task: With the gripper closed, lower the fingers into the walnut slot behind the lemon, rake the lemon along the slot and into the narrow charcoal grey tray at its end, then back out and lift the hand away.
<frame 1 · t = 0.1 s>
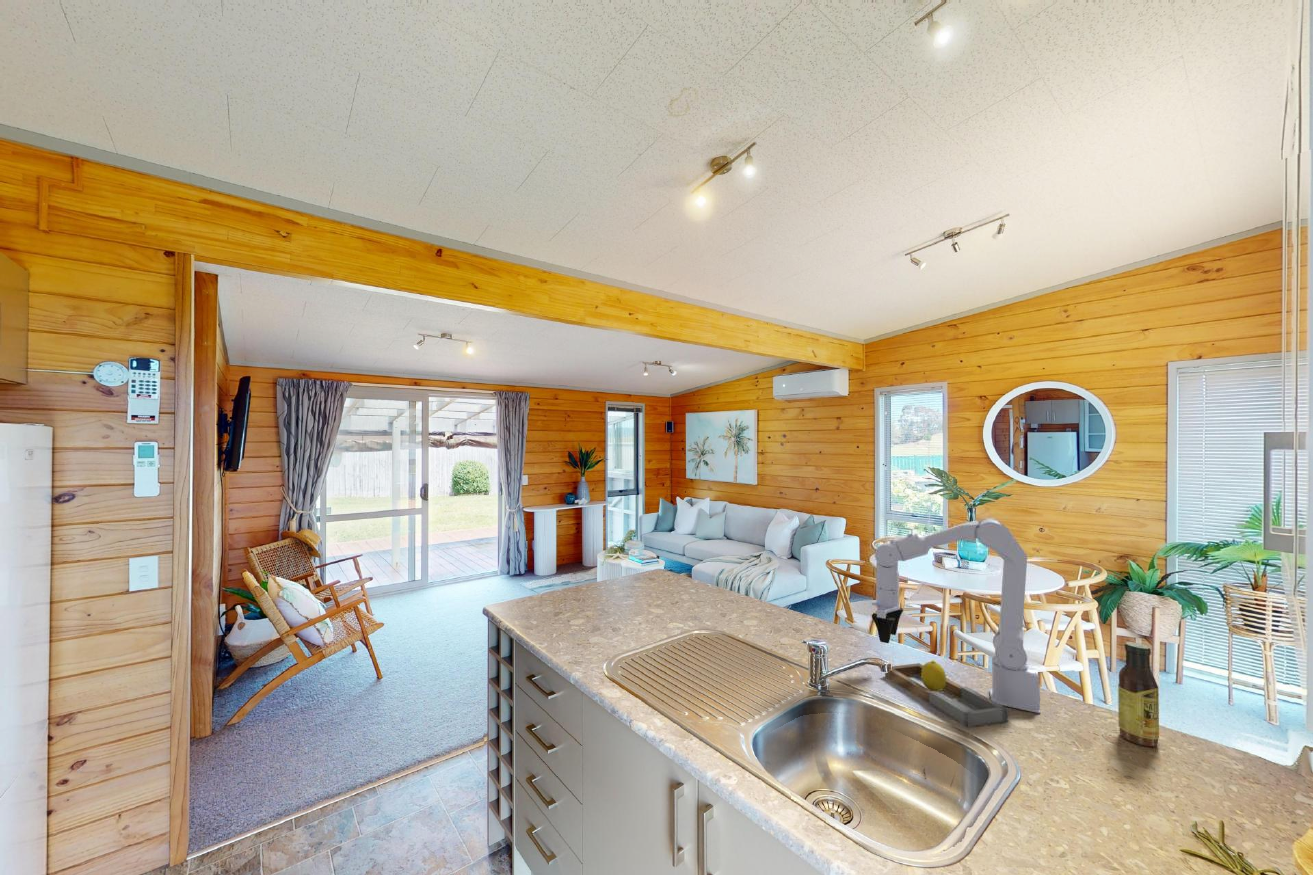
hand: (888, 638, 138), 10 cm above the countertop, tool pointing down, fingers open, 7 cm apart
sauce bottle: (1138, 740, 107), on the countertop
slot rails: (926, 688, 130), on the countertop
tray: (967, 712, 118), on the countertop
lemon: (933, 693, 127), on the countertop
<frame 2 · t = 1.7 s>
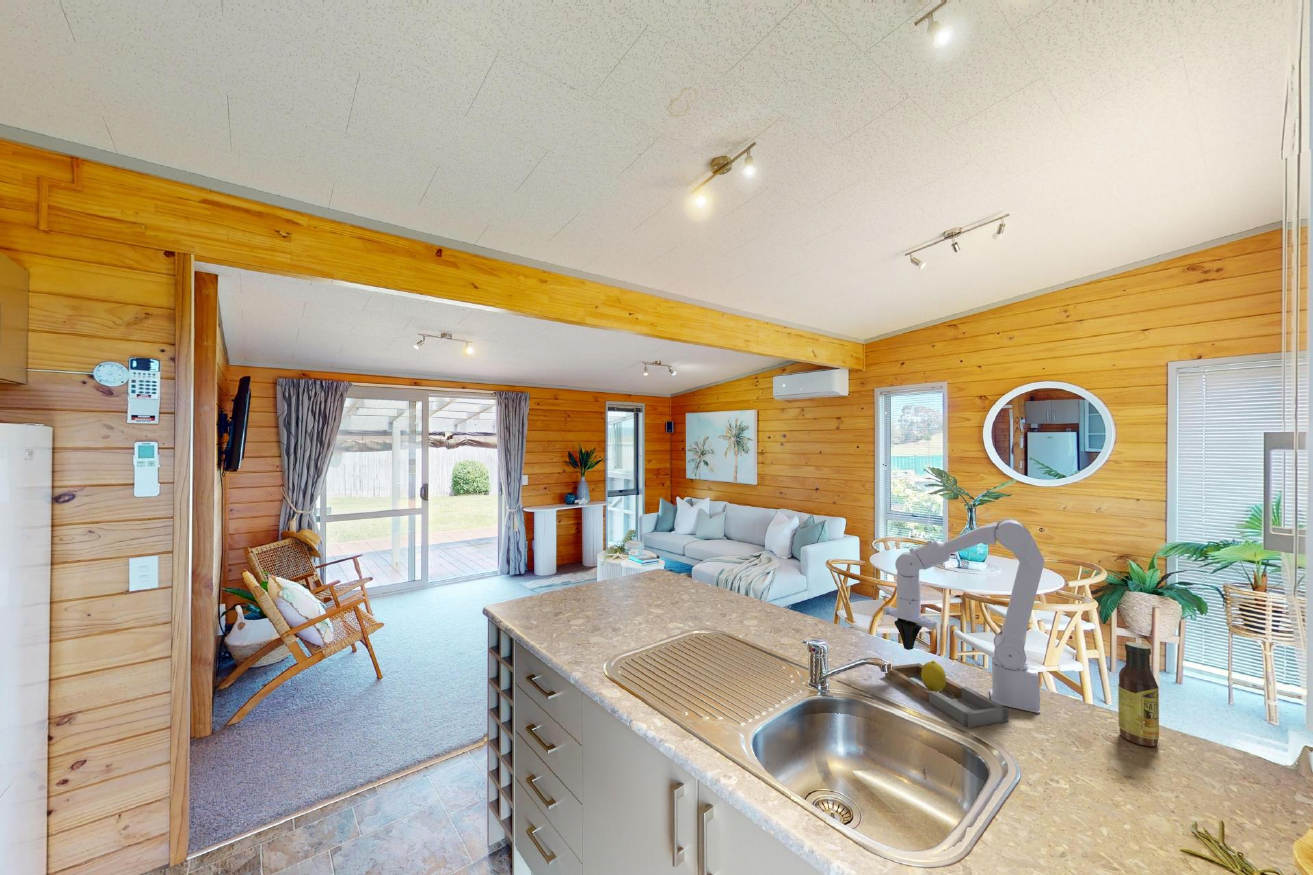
hand: (908, 648, 136), 8 cm above the countertop, tool pointing down, fingers closed
nothing on the countertop moved.
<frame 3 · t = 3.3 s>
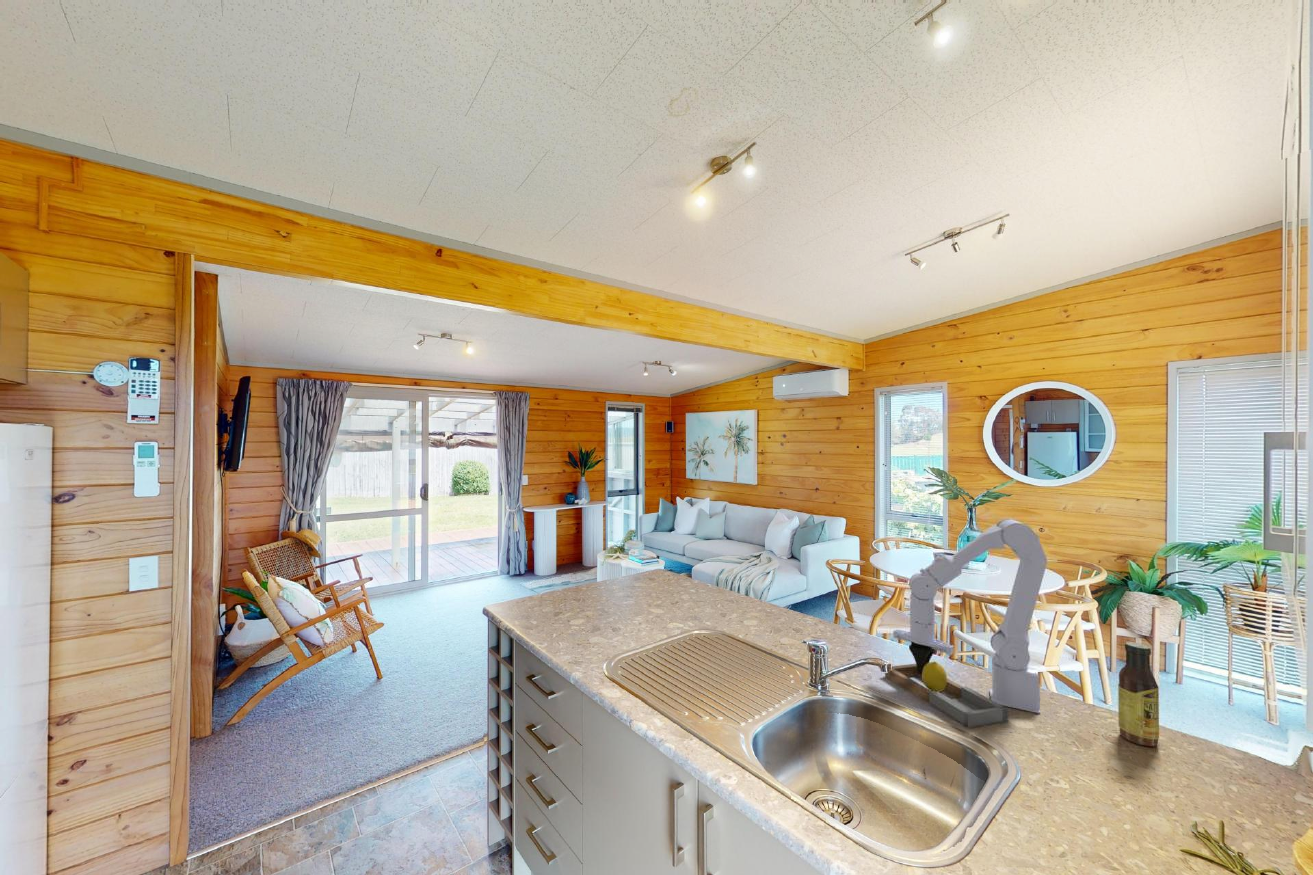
hand: (922, 673, 131), 3 cm above the countertop, tool pointing down, fingers closed
lemon: (933, 693, 127), on the countertop, touching gripper
everything else where it was.
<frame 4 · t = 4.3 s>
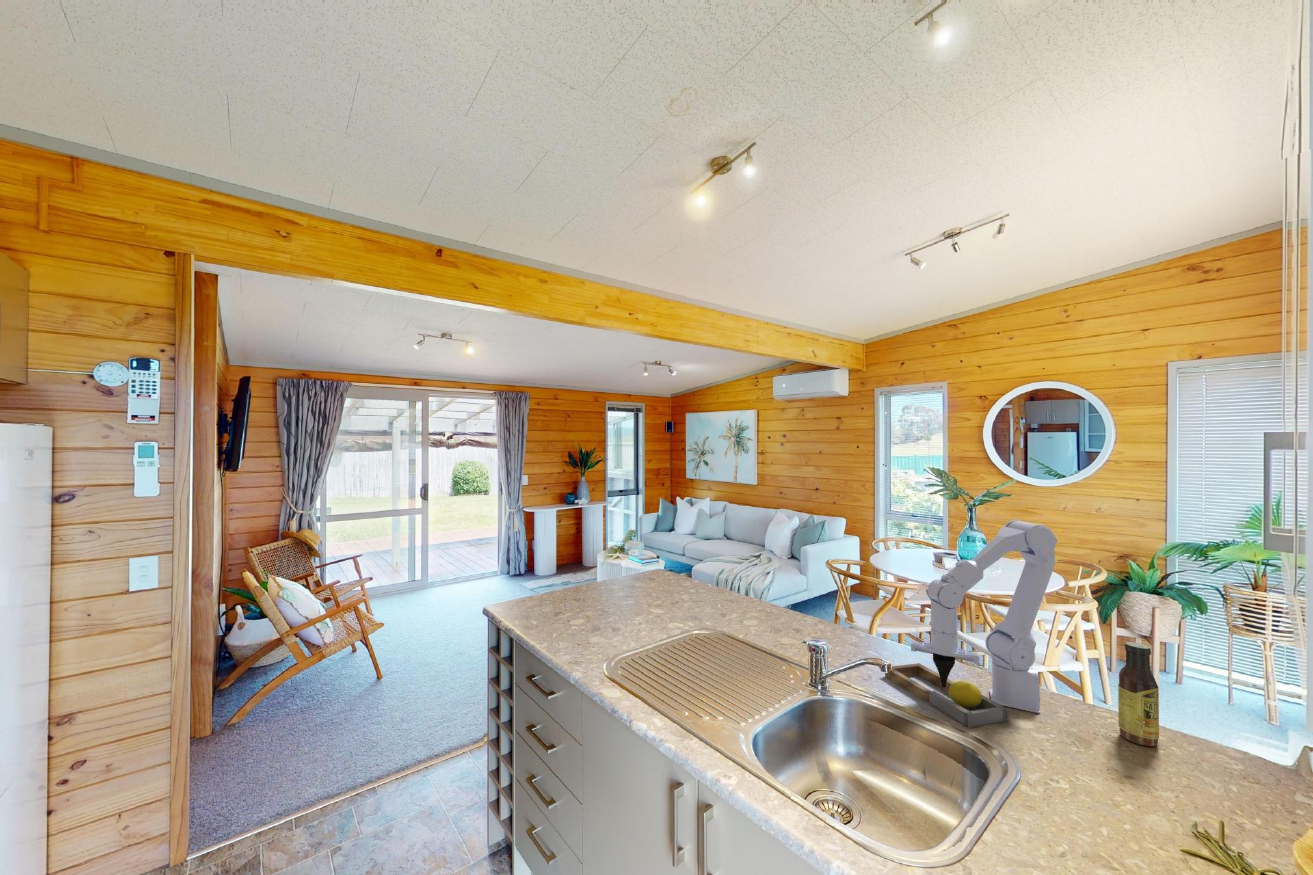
hand: (944, 685, 124), 3 cm above the countertop, tool pointing down, fingers closed, pressing on lemon
lemon: (947, 691, 123), point 2 cm above the countertop, touching gripper
everything else where it was.
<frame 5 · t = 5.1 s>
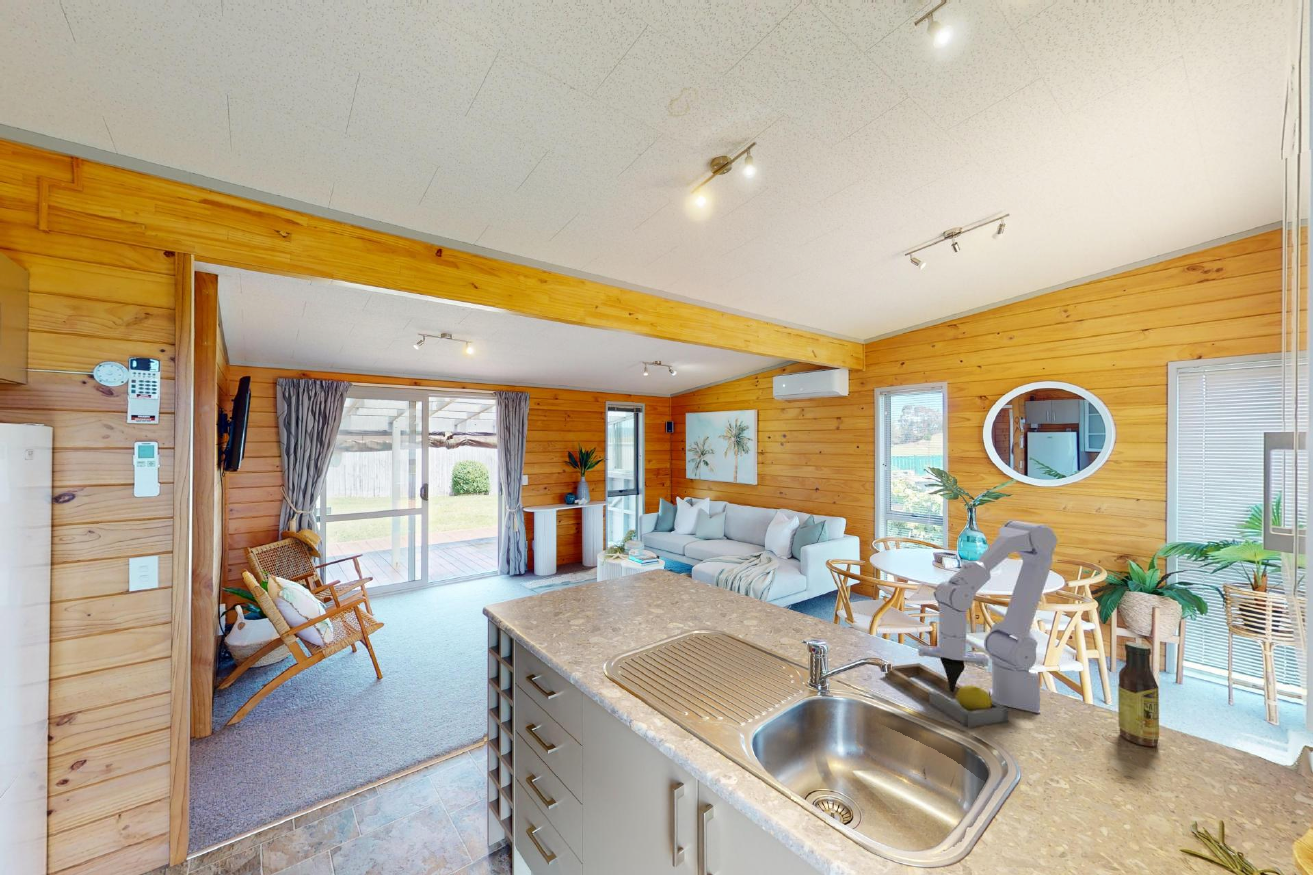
hand: (951, 690, 121), 3 cm above the countertop, tool pointing down, fingers closed, pressing on lemon
lemon: (955, 696, 121), point 2 cm above the countertop, touching gripper, tray
everything else where it was.
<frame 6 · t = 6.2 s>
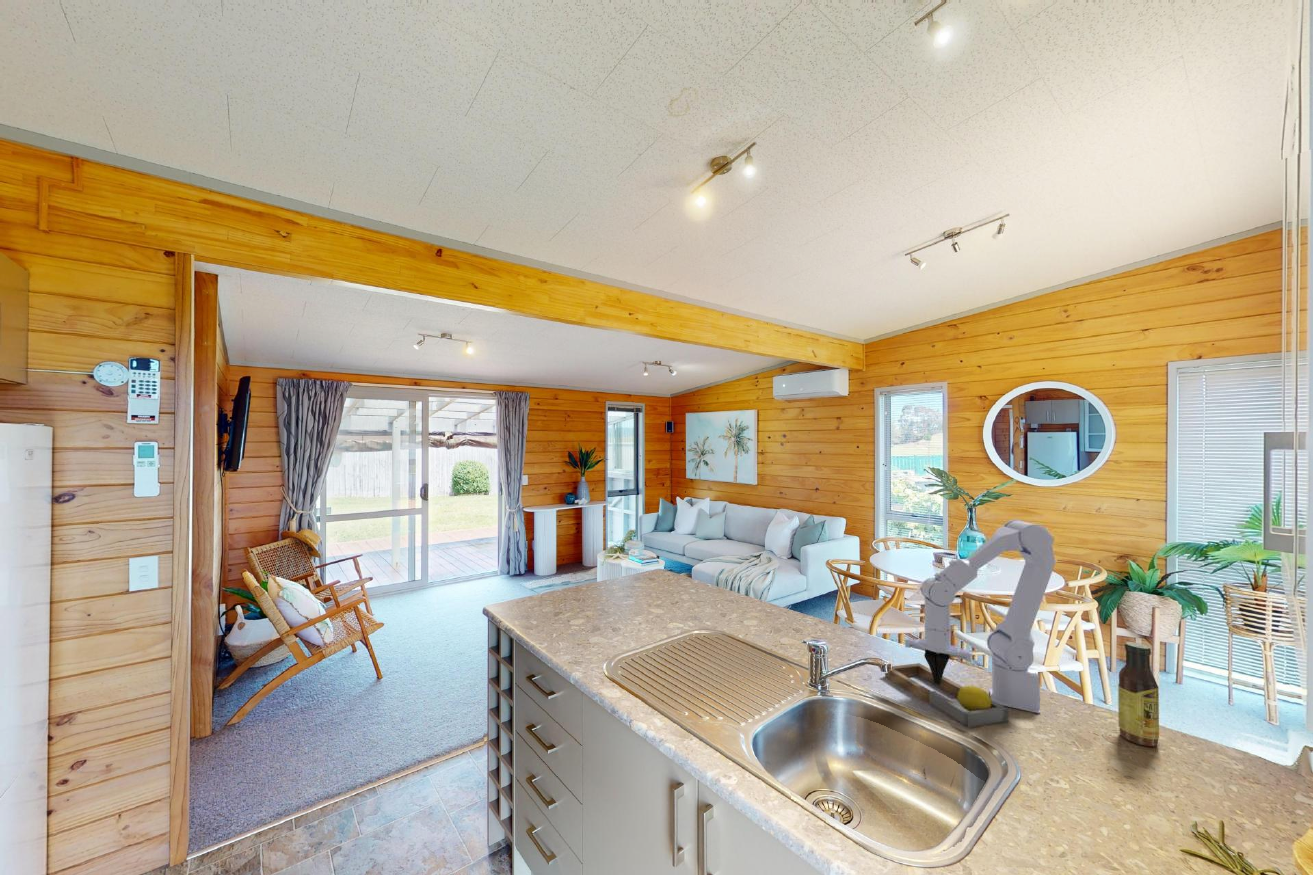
hand: (937, 682, 126), 3 cm above the countertop, tool pointing down, fingers closed
lemon: (957, 697, 121), point 2 cm above the countertop, touching tray
everything else where it was.
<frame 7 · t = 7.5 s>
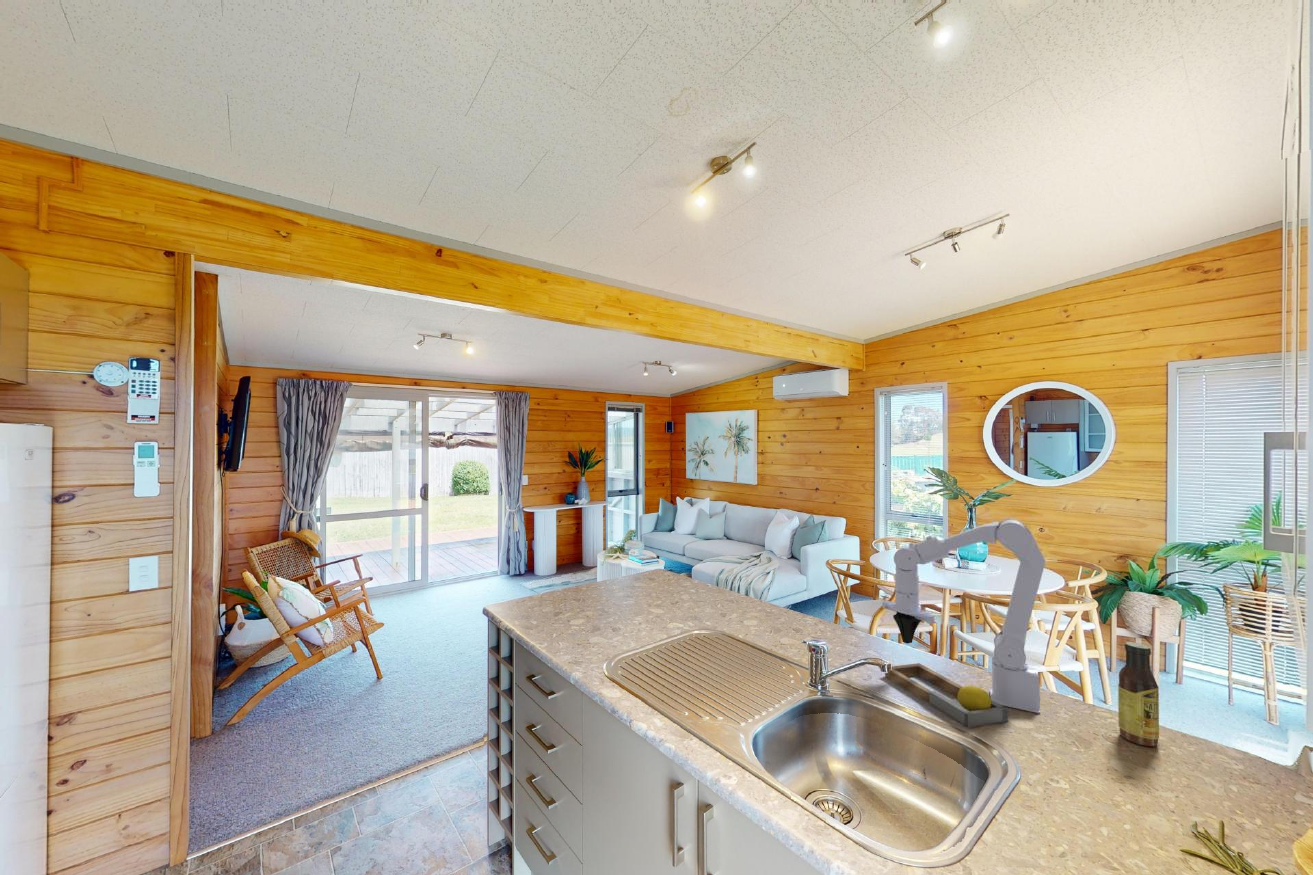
hand: (907, 642, 136), 9 cm above the countertop, tool pointing down, fingers closed
nothing on the countertop moved.
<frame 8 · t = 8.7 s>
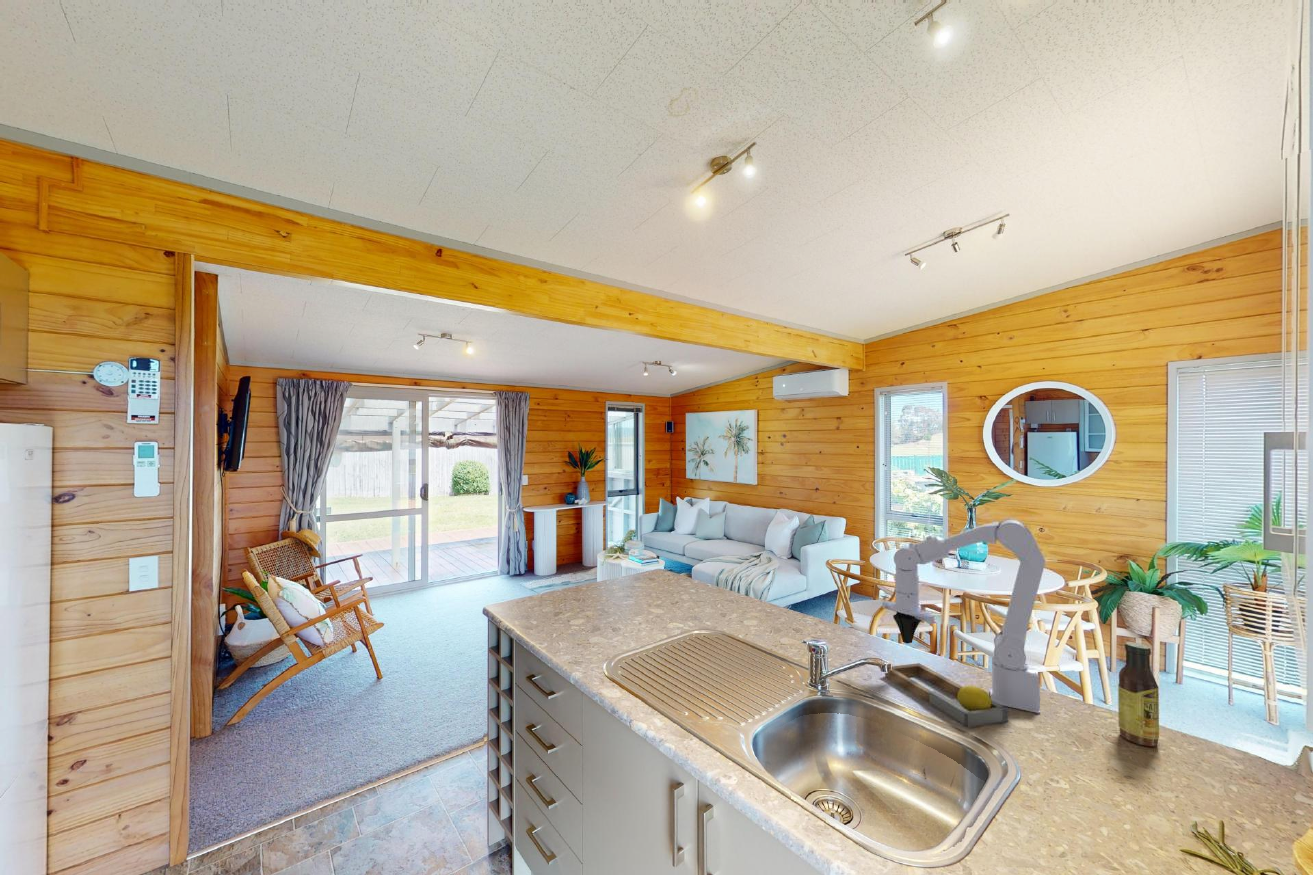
hand: (907, 642, 136), 9 cm above the countertop, tool pointing down, fingers closed
nothing on the countertop moved.
at the end: lemon 3.1 cm from the tray (horizontally); lemon touching tray; lemon moved 7.2 cm from its start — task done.
